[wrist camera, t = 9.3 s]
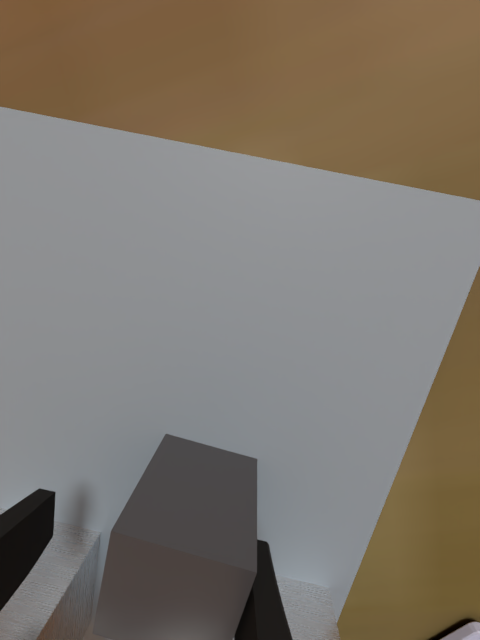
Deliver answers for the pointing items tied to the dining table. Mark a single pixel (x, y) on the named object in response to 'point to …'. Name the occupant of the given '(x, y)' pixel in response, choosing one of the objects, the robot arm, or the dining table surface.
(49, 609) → the grey arch block
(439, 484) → the dining table surface
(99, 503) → the board
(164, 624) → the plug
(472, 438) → the dining table surface
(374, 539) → the dining table surface
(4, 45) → the dining table surface
